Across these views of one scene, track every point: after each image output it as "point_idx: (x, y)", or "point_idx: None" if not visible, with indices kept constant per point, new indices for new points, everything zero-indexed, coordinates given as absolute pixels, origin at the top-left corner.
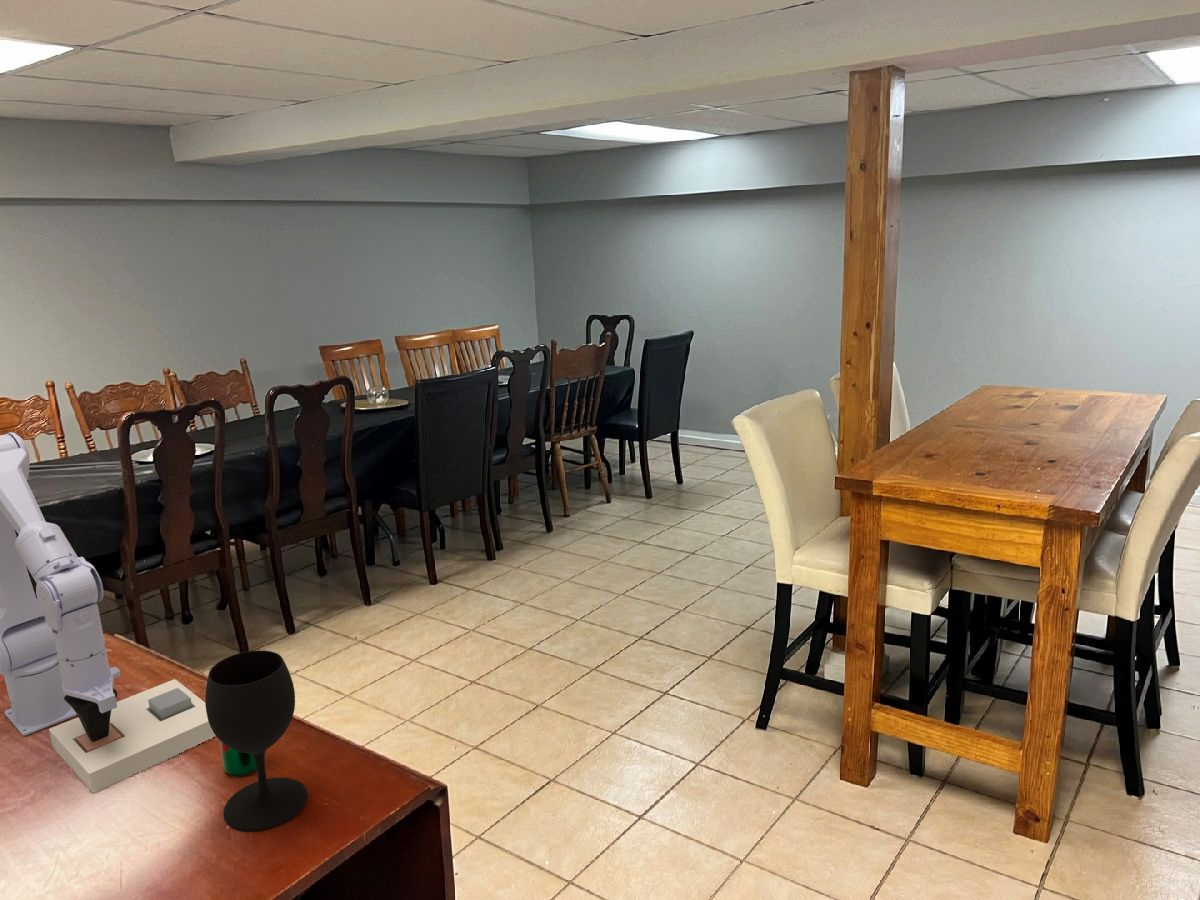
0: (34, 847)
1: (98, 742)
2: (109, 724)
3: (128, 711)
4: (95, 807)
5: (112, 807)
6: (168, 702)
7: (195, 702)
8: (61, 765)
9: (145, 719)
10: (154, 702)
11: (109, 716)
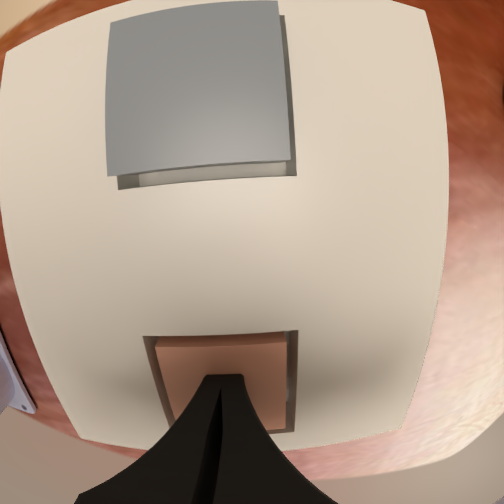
0: (419, 451)
1: (265, 403)
2: (246, 398)
3: (91, 257)
4: (424, 389)
5: (451, 365)
6: (231, 92)
7: None
8: None
9: (220, 222)
10: (163, 154)
11: (264, 430)
